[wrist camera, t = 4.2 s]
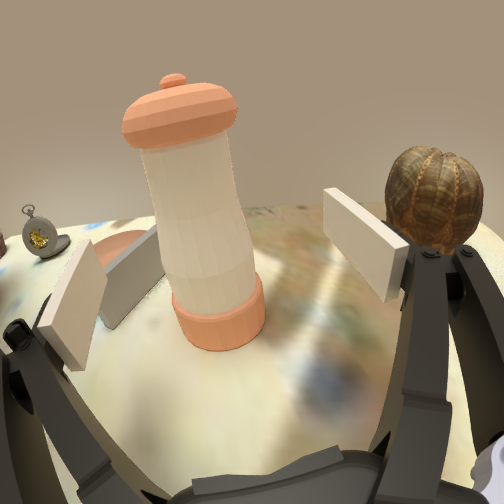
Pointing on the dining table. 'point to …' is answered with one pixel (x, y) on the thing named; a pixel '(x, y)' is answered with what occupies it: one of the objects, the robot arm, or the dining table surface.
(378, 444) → the robot arm
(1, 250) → the cupcake
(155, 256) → the low wall
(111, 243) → the coaster
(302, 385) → the dining table surface
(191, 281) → the pepper shaker
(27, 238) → the pocket watch
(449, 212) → the shell
